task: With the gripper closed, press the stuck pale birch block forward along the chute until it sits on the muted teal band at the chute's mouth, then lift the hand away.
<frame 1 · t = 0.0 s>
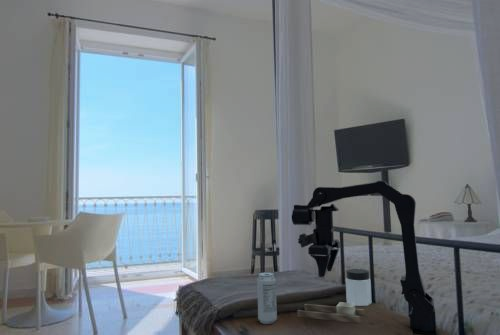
hand: (326, 273, 125), 15 cm above the bench, tool pointing down, fingers open, 9 cm apart
block: (346, 310, 124), point 3 cm above the bench, slide at 0.0 cm
energy drink can: (267, 322, 124), on the bench
chute: (331, 317, 126), on the bench
jar: (359, 304, 141), on the bench
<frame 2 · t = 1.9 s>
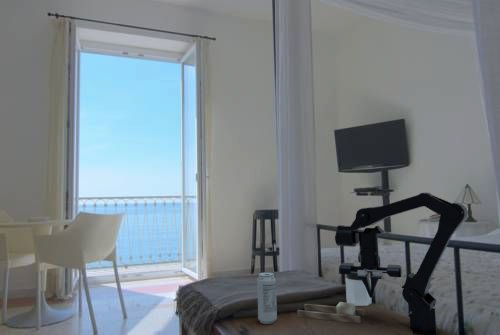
hand: (371, 297, 121), 8 cm above the bench, tool pointing down, fingers closed
nothing on the bench moved.
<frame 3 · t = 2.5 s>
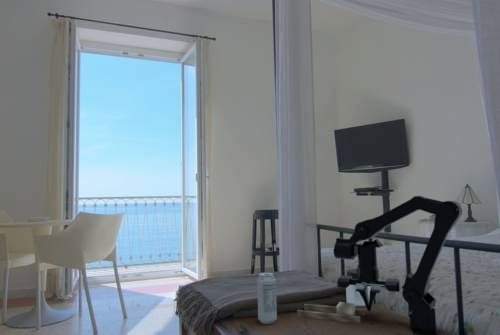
hand: (369, 311, 121), 3 cm above the bench, tool pointing down, fingers closed
nothing on the bench moved.
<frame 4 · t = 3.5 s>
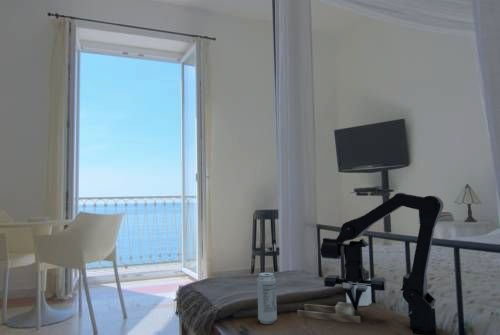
hand: (355, 309, 123), 3 cm above the bench, tool pointing down, fingers closed
block: (345, 310, 124), point 3 cm above the bench, slide at 0.4 cm, touching gripper
everything else where it was.
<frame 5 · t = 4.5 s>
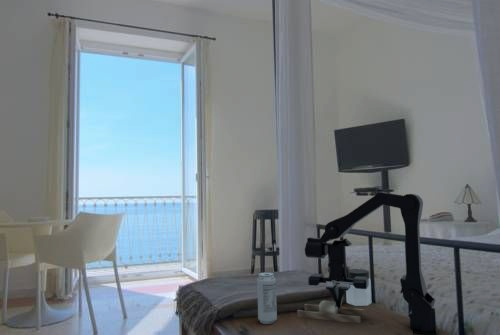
hand: (339, 308, 125), 3 cm above the bench, tool pointing down, fingers closed
block: (328, 309, 127), point 3 cm above the bench, slide at 5.7 cm, touching gripper
everything else where it was.
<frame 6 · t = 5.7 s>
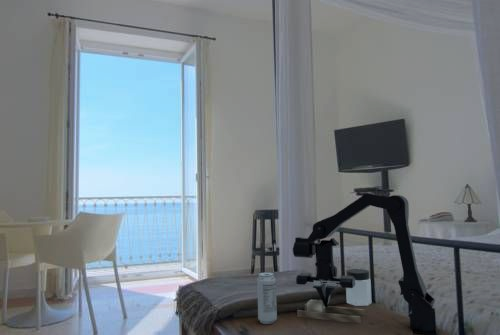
hand: (326, 306, 127), 3 cm above the bench, tool pointing down, fingers closed
block: (316, 307, 128), point 3 cm above the bench, slide at 9.9 cm, touching gripper
everything else where it was.
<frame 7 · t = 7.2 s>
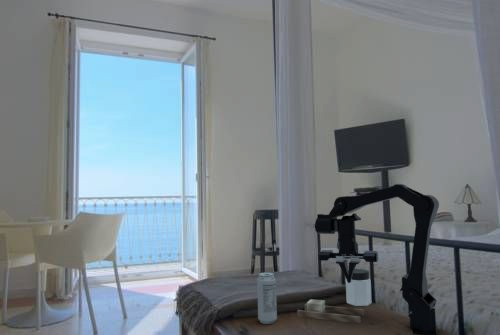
hand: (349, 282, 126), 11 cm above the bench, tool pointing down, fingers closed
block: (316, 307, 128), point 3 cm above the bench, slide at 9.9 cm
everything else where it was.
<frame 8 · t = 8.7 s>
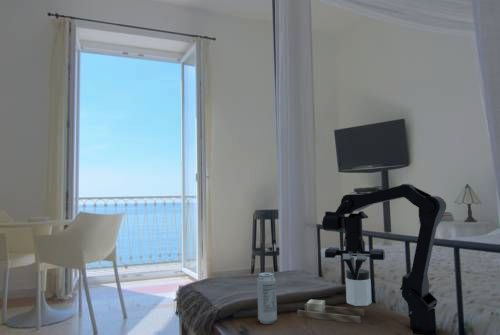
hand: (355, 280, 126), 12 cm above the bench, tool pointing down, fingers closed
nothing on the bench moved.
at the end: block slide at 9.9 cm; block 0.6 cm from the target spot on the chute, point 2.6 cm above the chute's base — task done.
